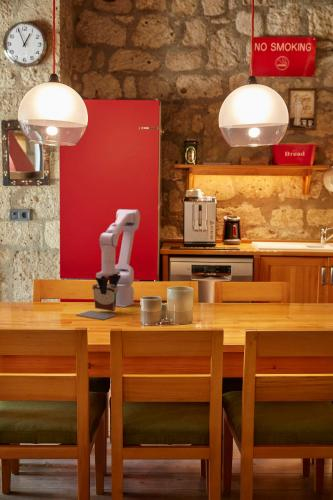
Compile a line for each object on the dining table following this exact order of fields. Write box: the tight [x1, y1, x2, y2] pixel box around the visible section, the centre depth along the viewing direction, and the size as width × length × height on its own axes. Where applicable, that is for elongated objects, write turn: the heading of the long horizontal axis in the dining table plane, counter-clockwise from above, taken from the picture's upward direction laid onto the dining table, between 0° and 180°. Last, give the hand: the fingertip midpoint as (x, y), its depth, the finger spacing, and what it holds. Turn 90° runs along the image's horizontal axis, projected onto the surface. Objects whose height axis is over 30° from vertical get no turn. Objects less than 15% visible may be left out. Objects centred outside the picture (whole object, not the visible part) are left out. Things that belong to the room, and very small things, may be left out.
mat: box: [75, 310, 119, 321], centre depth 229 cm, size 10×14×1 cm
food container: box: [91, 283, 118, 312], centre depth 235 cm, size 12×6×10 cm, turn 60°
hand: (108, 292), depth 234 cm, fingers closed on food container, 6 cm apart
